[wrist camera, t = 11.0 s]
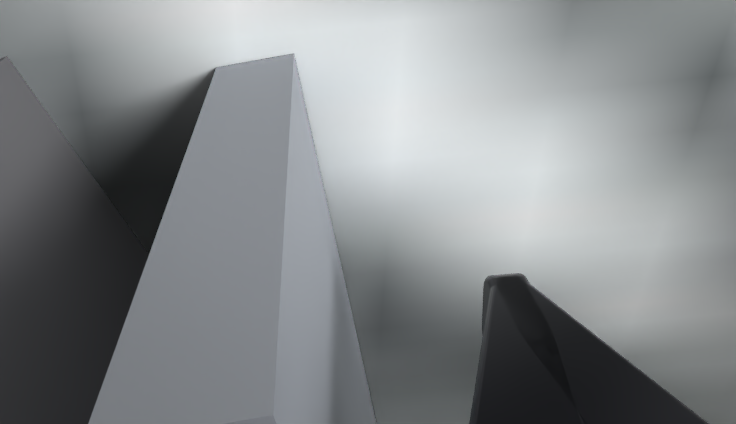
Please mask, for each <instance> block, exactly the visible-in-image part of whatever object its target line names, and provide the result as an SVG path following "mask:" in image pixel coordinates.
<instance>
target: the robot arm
mask: <svg viewBox="0 0 736 424" xmlns="http://www.w3.org/2000/svg"><path fill="white" fill-rule="evenodd" d="M482 334H483V339H482V345H481V352H480V358H479V364H478V371H477V377H476V384H475V390H474V397H473V403H472V409H471V416H470V422H469V424H708V423H707V422H706V421H704V420H703V419H702V418H701V417H699V416H698V415H697V414H695V413H694V412H693V411H692V410H690V409H689V408H688V407H687V406H685V405H684V404H683V403H681V402H680V401H679V400H678V399H676V398H675V397H674V396H672V395H671V394H670V393H669V392H667V391H666V390H665V389H664V388H662V387H661V386H660V385H658V384H657V383H656V382H655V381H653V380H652V379H651V378H649V377H648V376H647V375H646V374H644V373H643V372H642V371H641V370H639V369H638V368H637V367H635V366H634V365H633V364H632V363H630V362H629V361H628V360H626V359H625V358H624V357H623V356H621V355H620V354H619V353H617V352H616V351H615V350H614V349H612V348H611V347H610V346H609V345H607V344H606V343H605V342H603V341H602V340H601V339H600V338H598V337H597V336H596V335H594V334H593V333H592V332H591V331H589V330H588V329H587V328H586V327H584V326H583V325H582V324H580V323H579V322H578V321H577V320H575V319H574V318H573V317H571V316H570V315H569V314H568V313H566V312H565V311H564V310H563V309H561V308H560V307H559V306H557V305H556V304H555V303H554V302H552V301H551V300H550V299H548V298H547V297H546V296H545V295H543V294H542V293H541V292H539V291H538V290H537V289H536V288H534V287H533V286H532V285H531V284H530V283H529V282H528V280H527V278H526V277H525V276H524V275H523V274H519V273H517V274H504V275H492V276H488V277H487V278H486V279H485V281H484V288H483V312H482Z"/></svg>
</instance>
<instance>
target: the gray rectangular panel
mask: <svg viewBox="0 0 736 424" xmlns="http://www.w3.org/2000/svg"><path fill="white" fill-rule="evenodd" d="M88 424H377V423H376V419H375V414H374V410H373V405H372V401H371V396H370V392H369V387H368V383H367V378H366V374H365V369H364V365H363V360H362V356H361V351H360V347H359V342H358V338H357V334H356V329H355V325H354V320H353V316H352V311H351V307H350V302H349V298H348V293H347V289H346V284H345V280H344V275H343V271H342V266H341V262H340V257H339V253H338V248H337V244H336V240H335V235H334V231H333V226H332V222H331V217H330V213H329V208H328V204H327V199H326V195H325V190H324V186H323V181H322V177H321V172H320V168H319V163H318V159H317V154H316V150H315V146H314V141H313V137H312V132H311V128H310V123H309V119H308V114H307V110H306V105H305V101H304V96H303V92H302V87H301V83H300V78H299V74H298V69H297V65H296V60H295V56H294V54H289V55H283V56H278V57H272V58H267V59H261V60H256V61H250V62H245V63H239V64H234V65H228V66H223V67H217V68H216V70H215V72H214V75H213V78H212V81H211V84H210V86H209V89H208V92H207V95H206V97H205V100H204V103H203V106H202V109H201V111H200V114H199V117H198V120H197V123H196V125H195V128H194V131H193V134H192V136H191V139H190V142H189V145H188V148H187V150H186V153H185V156H184V159H183V161H182V164H181V167H180V170H179V173H178V175H177V178H176V181H175V184H174V187H173V189H172V192H171V195H170V198H169V200H168V203H167V206H166V209H165V212H164V214H163V217H162V220H161V223H160V225H159V228H158V231H157V234H156V237H155V239H154V242H153V245H152V248H151V251H150V253H149V256H148V259H147V262H146V264H145V267H144V270H143V273H142V276H141V278H140V281H139V284H138V287H137V289H136V292H135V295H134V298H133V301H132V303H131V306H130V309H129V312H128V315H127V317H126V320H125V323H124V326H123V328H122V331H121V334H120V337H119V340H118V342H117V345H116V348H115V351H114V353H113V356H112V359H111V362H110V365H109V367H108V370H107V373H106V376H105V379H104V381H103V384H102V387H101V390H100V392H99V395H98V398H97V401H96V404H95V406H94V409H93V412H92V415H91V417H90V420H89V423H88Z"/></svg>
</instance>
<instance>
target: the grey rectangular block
mask: <svg viewBox="0 0 736 424" xmlns="http://www.w3.org/2000/svg"><path fill="white" fill-rule="evenodd" d="M148 256H149V254H148V253H147V251H146V250H145V249H144V247H143V246H142V244H141V243H140V242H139V240H138V239H137V237H136V236H135V235H134V233H133V232H132V230H131V229H130V228H129V226H128V225H127V223H126V222H125V221H124V219H123V218H122V216H121V215H120V214H119V212H118V211H117V209H116V208H115V207H114V205H113V204H112V202H111V201H110V200H109V198H108V197H107V195H106V194H105V193H104V191H103V190H102V188H101V187H100V186H99V184H98V183H97V181H96V180H95V179H94V177H93V176H92V174H91V173H90V172H89V170H88V169H87V167H86V166H85V165H84V163H83V162H82V160H81V159H80V158H79V156H78V155H77V153H76V152H75V151H74V149H73V148H72V146H71V145H70V144H69V142H68V141H67V139H66V138H65V136H64V135H63V134H62V132H61V131H60V129H59V128H58V127H57V125H56V124H55V122H54V121H53V120H52V118H51V117H50V115H49V114H48V113H47V111H46V110H45V108H44V107H43V106H42V104H41V103H40V101H39V100H38V99H37V97H36V96H35V94H34V93H33V92H32V90H31V89H30V87H29V86H28V85H27V83H26V82H25V80H24V79H23V78H22V76H21V75H20V73H19V72H18V71H17V69H16V68H15V66H14V65H13V64H12V62H11V61H10V59H9V58H8V57H7V56H6V57H4V58H2V59H0V424H88V423H89V420H90V417H91V415H92V412H93V409H94V406H95V404H96V401H97V398H98V395H99V392H100V390H101V387H102V384H103V381H104V379H105V376H106V373H107V370H108V367H109V365H110V362H111V359H112V356H113V353H114V351H115V348H116V345H117V342H118V340H119V337H120V334H121V331H122V328H123V326H124V323H125V320H126V317H127V315H128V312H129V309H130V306H131V303H132V301H133V298H134V295H135V292H136V289H137V287H138V284H139V281H140V278H141V276H142V273H143V270H144V267H145V264H146V262H147V259H148Z"/></svg>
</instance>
